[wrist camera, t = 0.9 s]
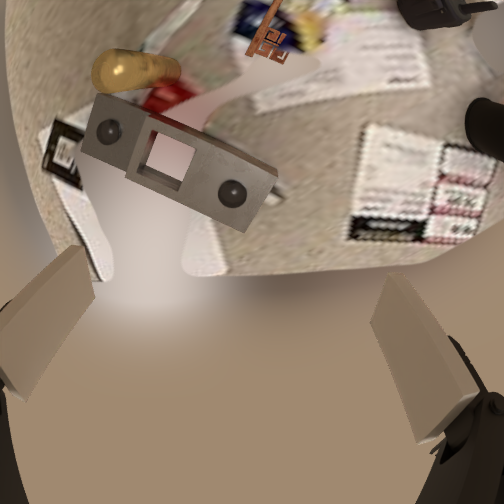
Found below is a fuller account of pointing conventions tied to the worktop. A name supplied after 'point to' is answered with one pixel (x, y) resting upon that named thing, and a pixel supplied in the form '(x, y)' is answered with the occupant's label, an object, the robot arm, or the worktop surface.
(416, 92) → the worktop surface
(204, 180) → the slotted metal plate
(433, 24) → the two-way radio
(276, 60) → the key
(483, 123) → the aerosol can
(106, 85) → the brass pin
